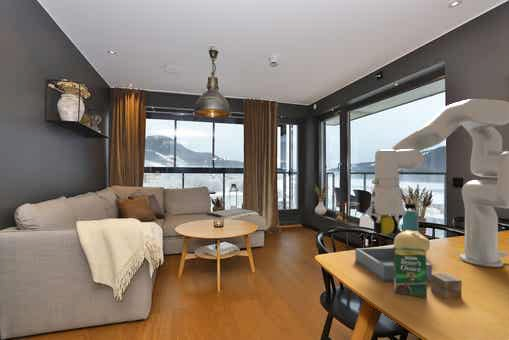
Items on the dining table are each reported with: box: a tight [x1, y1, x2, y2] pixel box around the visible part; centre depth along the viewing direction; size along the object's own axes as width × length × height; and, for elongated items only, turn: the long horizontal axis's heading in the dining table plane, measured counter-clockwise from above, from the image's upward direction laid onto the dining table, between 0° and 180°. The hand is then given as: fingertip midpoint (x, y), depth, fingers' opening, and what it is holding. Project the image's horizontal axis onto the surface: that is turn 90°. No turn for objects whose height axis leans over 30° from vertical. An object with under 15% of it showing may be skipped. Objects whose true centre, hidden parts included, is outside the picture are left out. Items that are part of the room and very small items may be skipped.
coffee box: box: [392, 246, 428, 298], centre depth 74 cm, size 8×3×13 cm, turn 69°
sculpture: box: [393, 230, 431, 253], centre depth 105 cm, size 11×12×11 cm
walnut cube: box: [430, 272, 463, 300], centre depth 74 cm, size 5×5×5 cm
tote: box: [354, 246, 433, 283], centre depth 91 cm, size 16×18×5 cm
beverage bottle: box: [402, 203, 420, 232], centre depth 118 cm, size 6×7×20 cm
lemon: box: [380, 215, 394, 236], centre depth 93 cm, size 6×6×8 cm
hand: (385, 232), depth 93 cm, fingers closed on lemon, 5 cm apart
